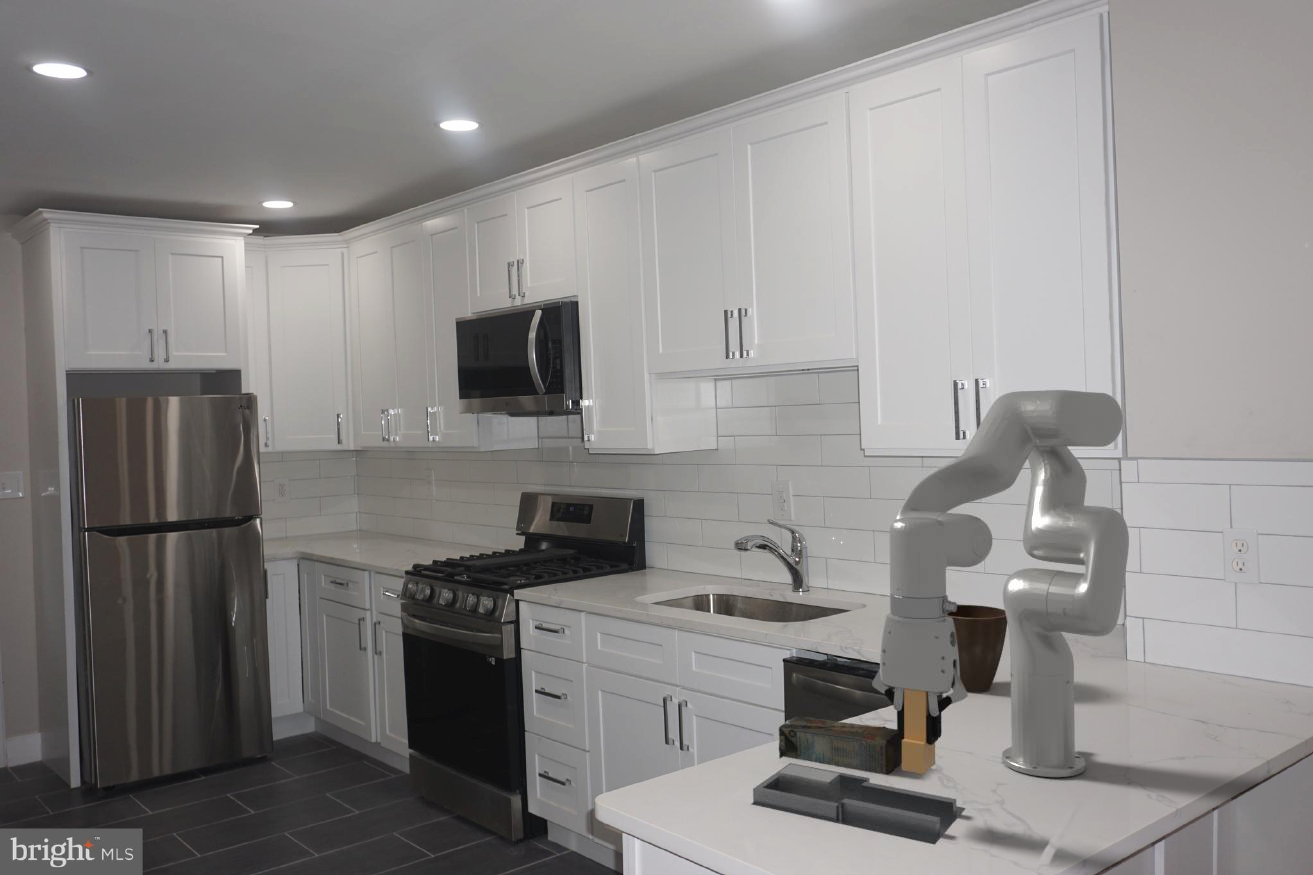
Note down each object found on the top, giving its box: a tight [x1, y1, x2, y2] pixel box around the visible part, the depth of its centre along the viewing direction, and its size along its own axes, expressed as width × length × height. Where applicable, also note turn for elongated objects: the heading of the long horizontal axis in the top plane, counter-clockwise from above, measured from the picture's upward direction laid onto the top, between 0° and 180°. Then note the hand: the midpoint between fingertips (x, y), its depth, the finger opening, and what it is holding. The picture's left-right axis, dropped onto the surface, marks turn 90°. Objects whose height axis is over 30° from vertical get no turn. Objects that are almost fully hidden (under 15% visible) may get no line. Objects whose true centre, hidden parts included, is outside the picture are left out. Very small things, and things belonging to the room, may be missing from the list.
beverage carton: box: [778, 715, 902, 776], centre depth 164 cm, size 8×19×7 cm, turn 58°
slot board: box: [751, 762, 966, 845], centre depth 143 cm, size 14×27×3 cm, turn 57°
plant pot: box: [946, 604, 1008, 693], centre depth 207 cm, size 15×15×16 cm
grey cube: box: [803, 769, 841, 803], centre depth 146 cm, size 4×4×4 cm
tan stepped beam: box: [901, 689, 936, 775], centre depth 138 cm, size 5×3×12 cm, turn 147°
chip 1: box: [779, 763, 815, 796], centre depth 149 cm, size 4×4×4 cm
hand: (919, 738), depth 138 cm, fingers closed on tan stepped beam, 3 cm apart
